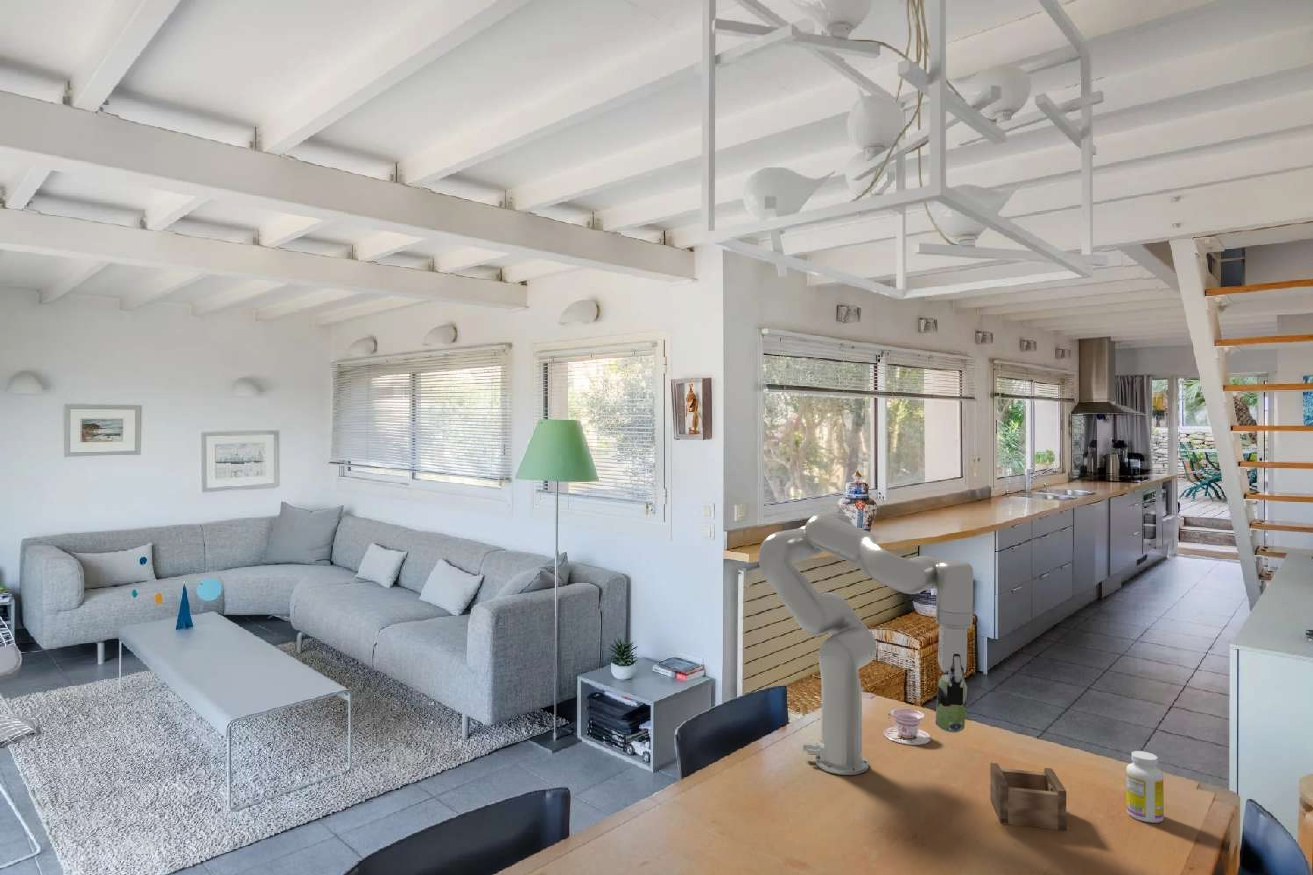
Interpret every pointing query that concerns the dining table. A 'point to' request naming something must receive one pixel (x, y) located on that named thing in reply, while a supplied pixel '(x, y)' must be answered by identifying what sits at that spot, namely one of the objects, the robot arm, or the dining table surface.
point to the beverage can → (949, 708)
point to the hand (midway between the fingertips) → (952, 698)
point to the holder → (1028, 797)
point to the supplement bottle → (1144, 788)
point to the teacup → (907, 727)
